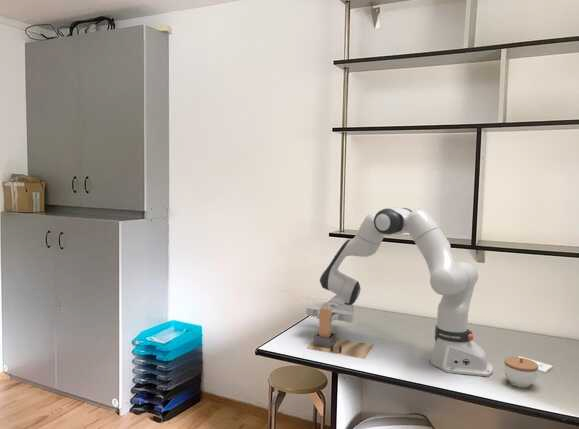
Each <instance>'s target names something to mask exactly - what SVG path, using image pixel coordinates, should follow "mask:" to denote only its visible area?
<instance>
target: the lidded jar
mask: <svg viewBox="0 0 579 429" xmlns="http://www.w3.org/2000/svg"><path fill="white" fill-rule="evenodd" d="M525 358H526V357H524V358H520V357H519V356H509V357H506V358H504V361H503V362H504V364H503V365H504V368H503V369H504V374H505V376H506V378H507V380H508V381H509V383H510V384H511V385H512V386H515V387H518V388H521V389H522V388H525V389H526V388H529V387H530V386H531V385H533V384H534V382H535V381H536V380H537V376H538V365H537V363H535V362H534V361H535V360H534V361H531V360H532V359H531V360H529V359H530V358H527V359H525Z"/></svg>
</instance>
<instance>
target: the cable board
mask: <svg viewBox="0 0 579 429" xmlns="http://www.w3.org/2000/svg"><path fill="white" fill-rule="evenodd" d="M313 342H314V340H312V342H311V343H310V344H309V345H308V346H307V347H305V349H307V350H311V351H312V350H313V351H317V352H323V353H330V354H335V355H340V356H346V357H352V358H358V359H363V360H364V359H366V357H368V356H367V355H368V354H369V353H370V351H371V349H372V348H373V346H374V345H375V344H373V343H368V342H361V341H355V340H349V339H343V338H337V340H336V344H335V345H331V349H329V348H323V347H317V346H313Z"/></svg>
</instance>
